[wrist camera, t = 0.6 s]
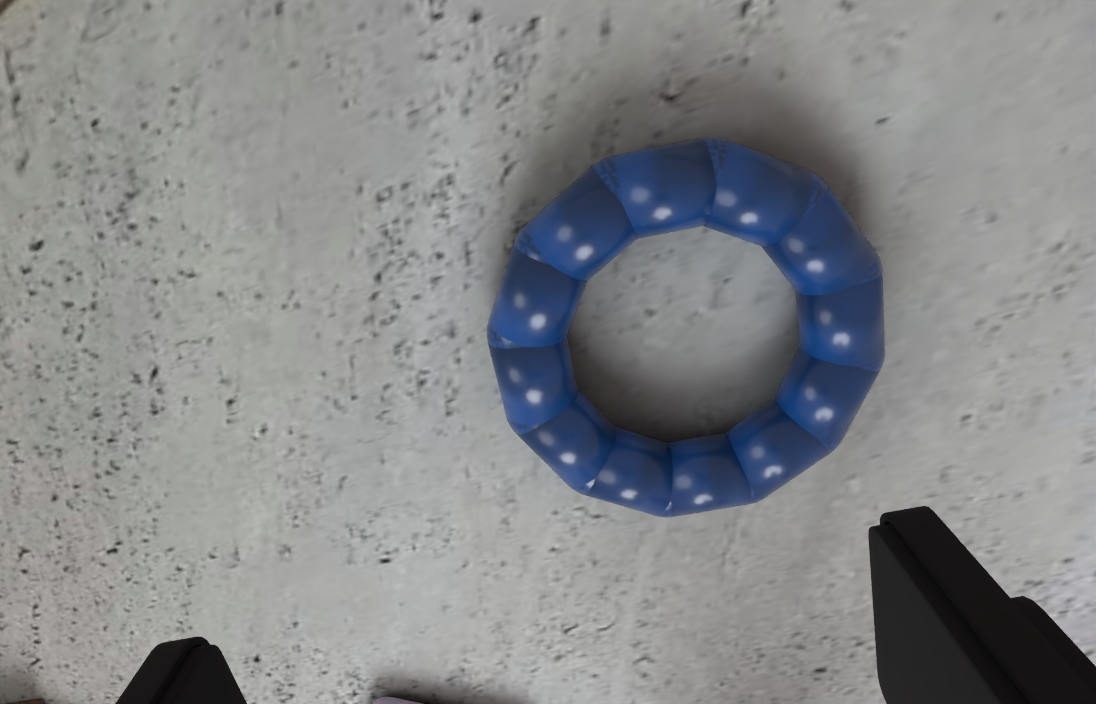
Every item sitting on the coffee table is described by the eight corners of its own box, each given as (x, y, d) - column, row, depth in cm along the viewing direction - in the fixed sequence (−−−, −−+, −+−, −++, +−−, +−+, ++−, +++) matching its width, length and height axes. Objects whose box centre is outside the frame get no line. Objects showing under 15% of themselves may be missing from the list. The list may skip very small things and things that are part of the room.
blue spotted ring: (456, 183, 23) (444, 196, 21) (855, 101, 22) (892, 104, 20) (536, 513, 28) (534, 554, 25) (871, 456, 27) (902, 494, 24)
